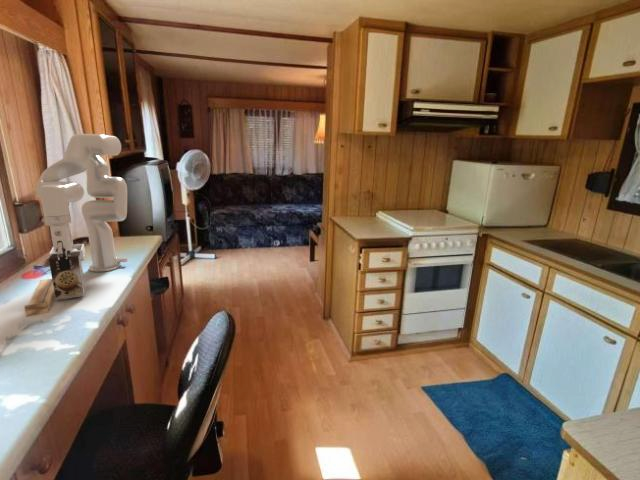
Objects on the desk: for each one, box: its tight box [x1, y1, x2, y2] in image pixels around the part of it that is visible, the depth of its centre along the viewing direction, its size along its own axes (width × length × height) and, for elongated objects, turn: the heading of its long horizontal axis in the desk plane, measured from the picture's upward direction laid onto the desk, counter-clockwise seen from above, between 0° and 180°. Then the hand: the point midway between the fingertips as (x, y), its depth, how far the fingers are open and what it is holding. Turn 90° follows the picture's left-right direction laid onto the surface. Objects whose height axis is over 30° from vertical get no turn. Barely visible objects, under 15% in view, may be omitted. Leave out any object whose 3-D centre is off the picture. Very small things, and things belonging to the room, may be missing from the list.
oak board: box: [23, 278, 55, 318], centre depth 134 cm, size 6×30×4 cm, turn 29°
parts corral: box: [49, 243, 86, 261], centre depth 176 cm, size 13×12×5 cm
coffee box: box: [48, 252, 87, 301], centre depth 133 cm, size 9×6×16 cm
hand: (66, 266), depth 132 cm, fingers closed on coffee box, 6 cm apart
